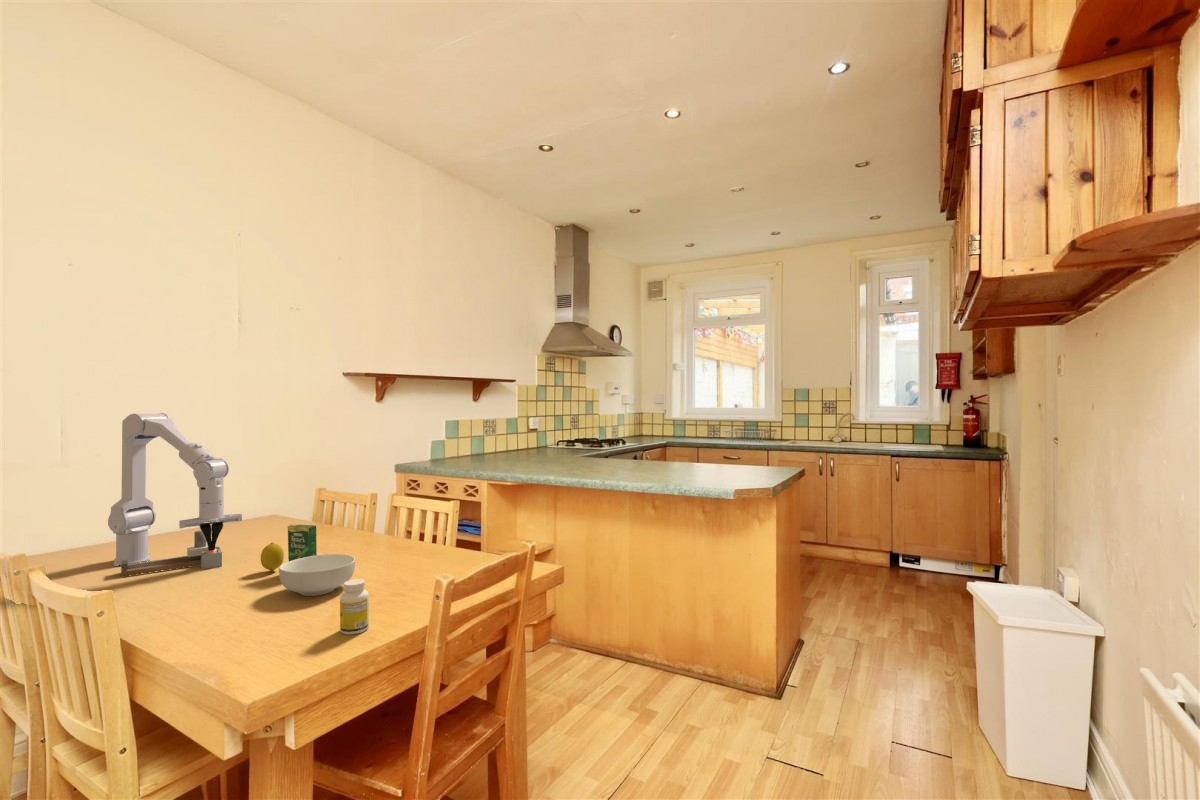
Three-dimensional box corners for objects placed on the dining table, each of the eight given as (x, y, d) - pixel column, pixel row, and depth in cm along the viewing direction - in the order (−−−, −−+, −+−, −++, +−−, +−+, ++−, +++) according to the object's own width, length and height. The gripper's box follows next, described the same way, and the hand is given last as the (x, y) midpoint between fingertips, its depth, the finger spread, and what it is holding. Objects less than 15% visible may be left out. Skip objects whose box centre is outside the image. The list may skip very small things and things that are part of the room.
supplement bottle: (345, 625, 115) (345, 578, 115) (372, 624, 115) (372, 577, 115) (335, 636, 109) (335, 586, 109) (363, 634, 110) (363, 585, 110)
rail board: (121, 572, 151) (121, 559, 151) (218, 557, 165) (218, 546, 165) (121, 577, 147) (121, 564, 147) (220, 562, 161) (220, 550, 161)
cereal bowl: (370, 583, 141) (370, 556, 141) (317, 606, 126) (317, 575, 126) (318, 577, 147) (318, 550, 147) (262, 598, 131) (262, 568, 131)
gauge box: (200, 565, 157) (200, 551, 157) (220, 562, 160) (220, 549, 160) (202, 569, 154) (202, 555, 154) (221, 566, 157) (221, 552, 157)
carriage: (187, 553, 160) (187, 531, 160) (212, 549, 164) (212, 528, 164) (188, 557, 156) (188, 534, 156) (213, 553, 160) (213, 531, 160)
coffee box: (286, 573, 150) (286, 525, 150) (296, 570, 153) (296, 522, 153) (308, 576, 147) (308, 527, 147) (317, 573, 150) (317, 525, 150)
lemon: (273, 575, 148) (273, 545, 148) (255, 574, 150) (255, 544, 150) (288, 569, 154) (288, 540, 154) (271, 568, 155) (271, 539, 155)
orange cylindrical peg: (205, 561, 157) (205, 549, 157) (216, 560, 159) (216, 547, 159) (206, 563, 155) (206, 551, 155) (217, 562, 157) (217, 549, 157)
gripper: (180, 507, 149) (180, 557, 149) (243, 500, 159) (243, 548, 159) (178, 503, 155) (178, 551, 155) (240, 497, 164) (240, 543, 164)
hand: (211, 549), depth 157 cm, fingers closed, pressing on orange cylindrical peg
